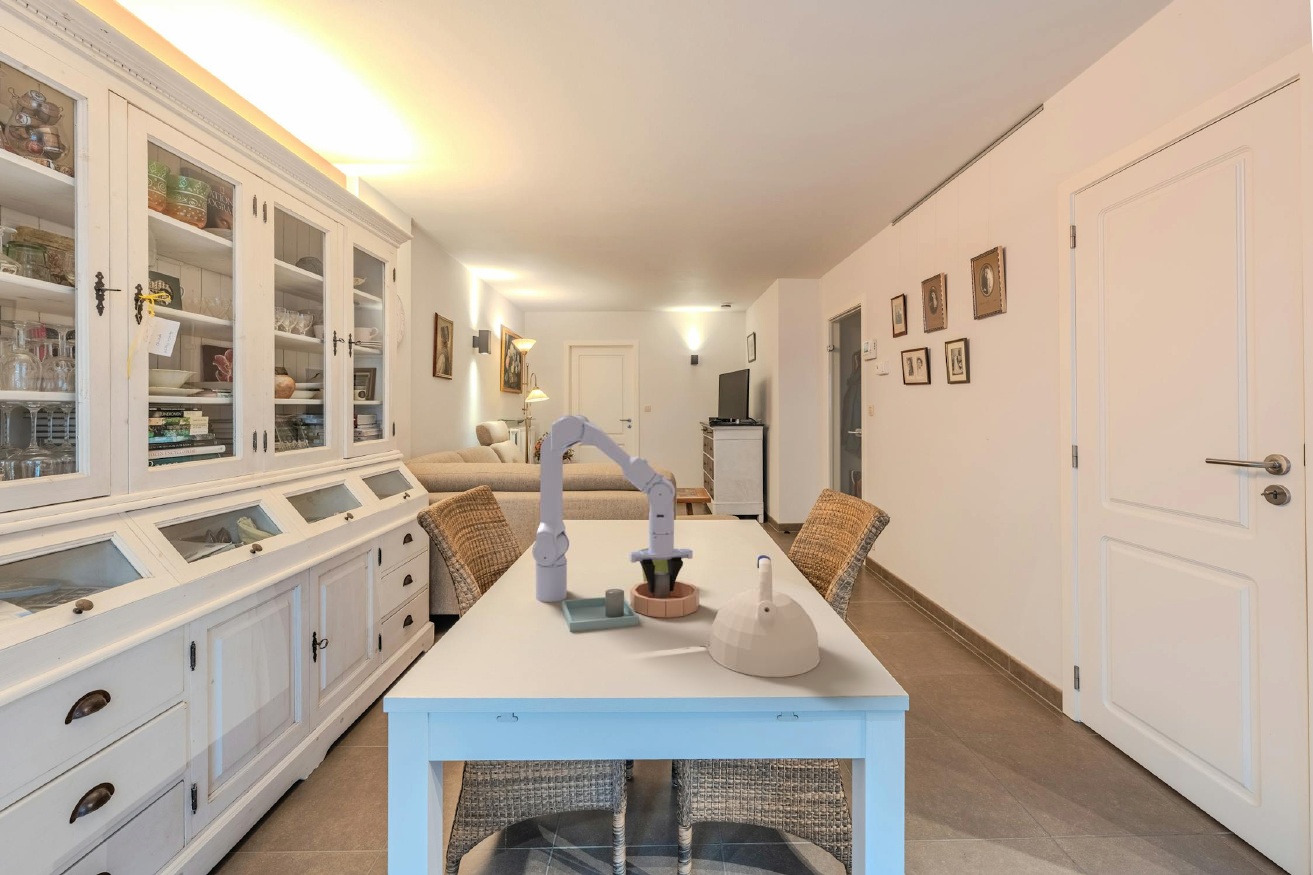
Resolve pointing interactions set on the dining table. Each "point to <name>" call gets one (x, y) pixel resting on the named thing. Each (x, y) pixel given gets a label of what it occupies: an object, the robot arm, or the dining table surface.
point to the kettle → (764, 632)
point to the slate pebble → (614, 603)
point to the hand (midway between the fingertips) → (661, 590)
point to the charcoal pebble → (661, 585)
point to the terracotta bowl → (665, 600)
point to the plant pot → (657, 566)
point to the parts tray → (595, 614)
